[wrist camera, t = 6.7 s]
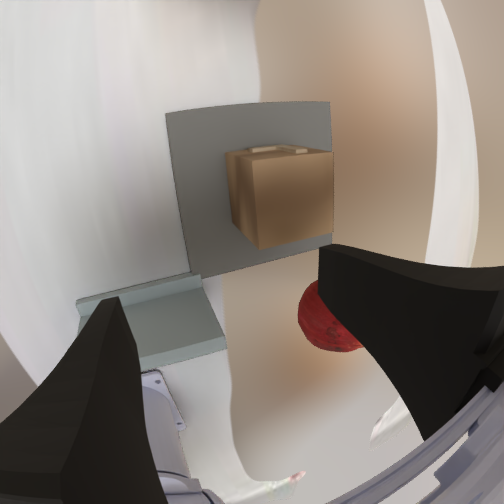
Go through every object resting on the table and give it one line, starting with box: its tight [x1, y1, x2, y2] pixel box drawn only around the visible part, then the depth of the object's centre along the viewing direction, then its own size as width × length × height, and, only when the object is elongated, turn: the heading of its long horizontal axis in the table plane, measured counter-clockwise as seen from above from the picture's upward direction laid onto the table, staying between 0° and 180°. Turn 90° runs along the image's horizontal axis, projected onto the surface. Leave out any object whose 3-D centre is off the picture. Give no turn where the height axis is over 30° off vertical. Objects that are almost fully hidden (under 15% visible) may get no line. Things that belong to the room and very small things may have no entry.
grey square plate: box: [165, 102, 332, 279], centre depth 19 cm, size 11×11×1 cm
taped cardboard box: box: [225, 144, 334, 250], centre depth 17 cm, size 5×5×5 cm
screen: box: [76, 272, 227, 371], centre depth 17 cm, size 3×9×6 cm, turn 95°
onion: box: [298, 280, 364, 352], centre depth 21 cm, size 6×6×8 cm
